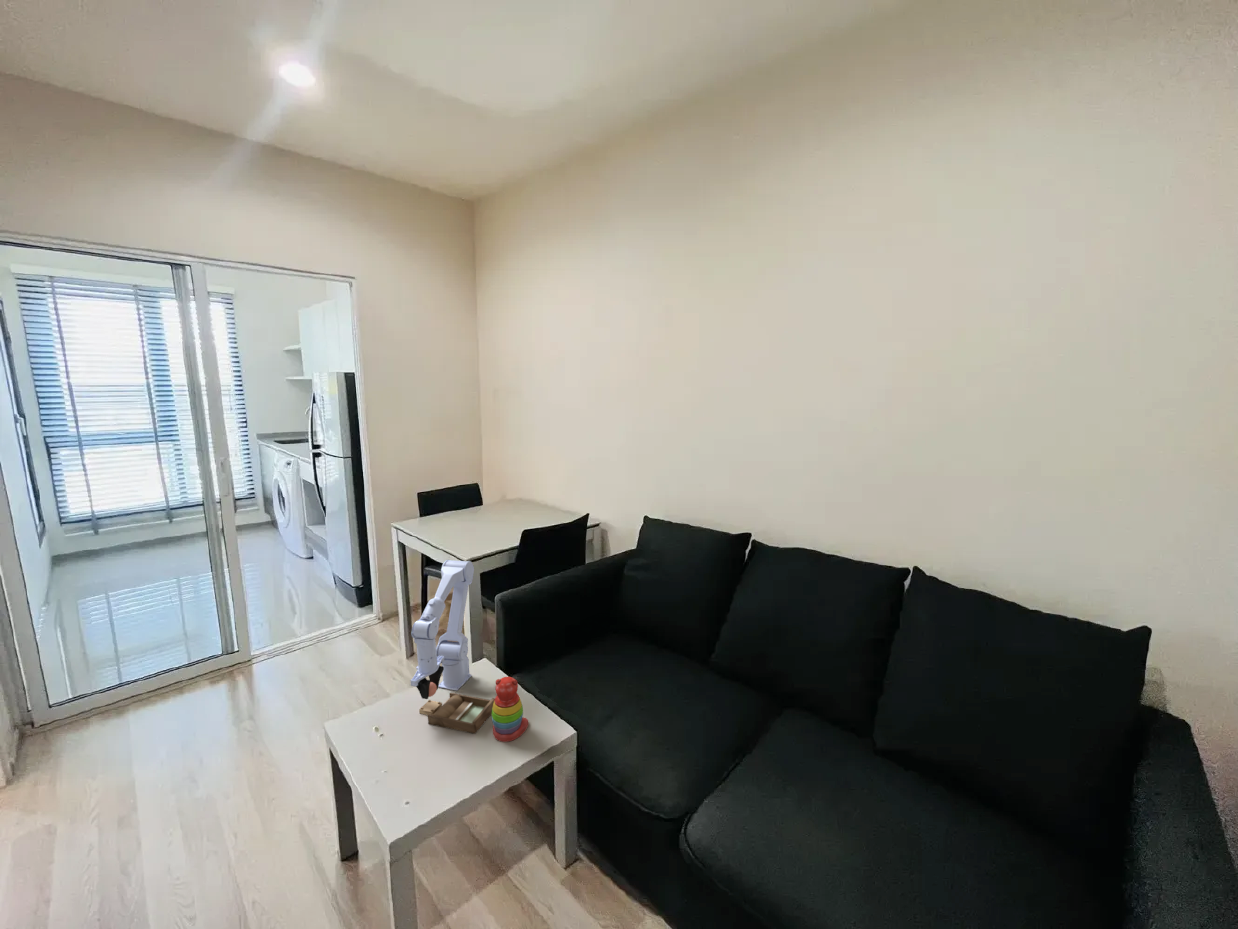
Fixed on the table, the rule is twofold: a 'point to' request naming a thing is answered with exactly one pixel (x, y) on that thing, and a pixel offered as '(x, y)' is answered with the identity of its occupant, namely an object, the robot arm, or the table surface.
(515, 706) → the stacking bear
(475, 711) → the wooden tray
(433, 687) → the ball
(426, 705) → the wooden footed board
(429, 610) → the robot arm
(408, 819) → the table surface
